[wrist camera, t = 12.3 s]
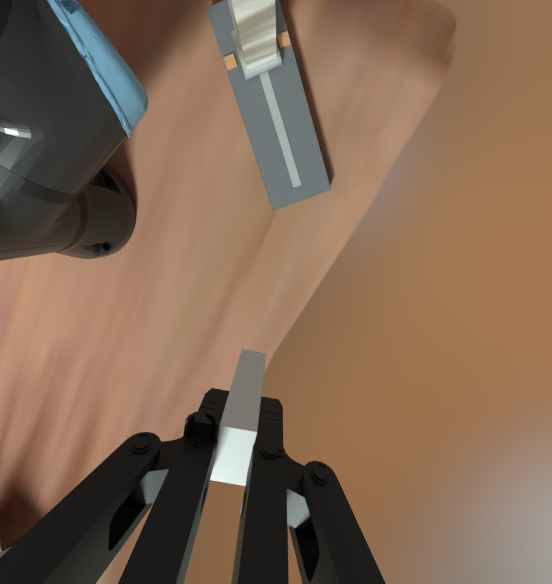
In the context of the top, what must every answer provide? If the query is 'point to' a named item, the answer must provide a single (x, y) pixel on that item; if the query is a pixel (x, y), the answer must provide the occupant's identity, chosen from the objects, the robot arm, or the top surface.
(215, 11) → the fader console
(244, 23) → the lever
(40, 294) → the top surface
